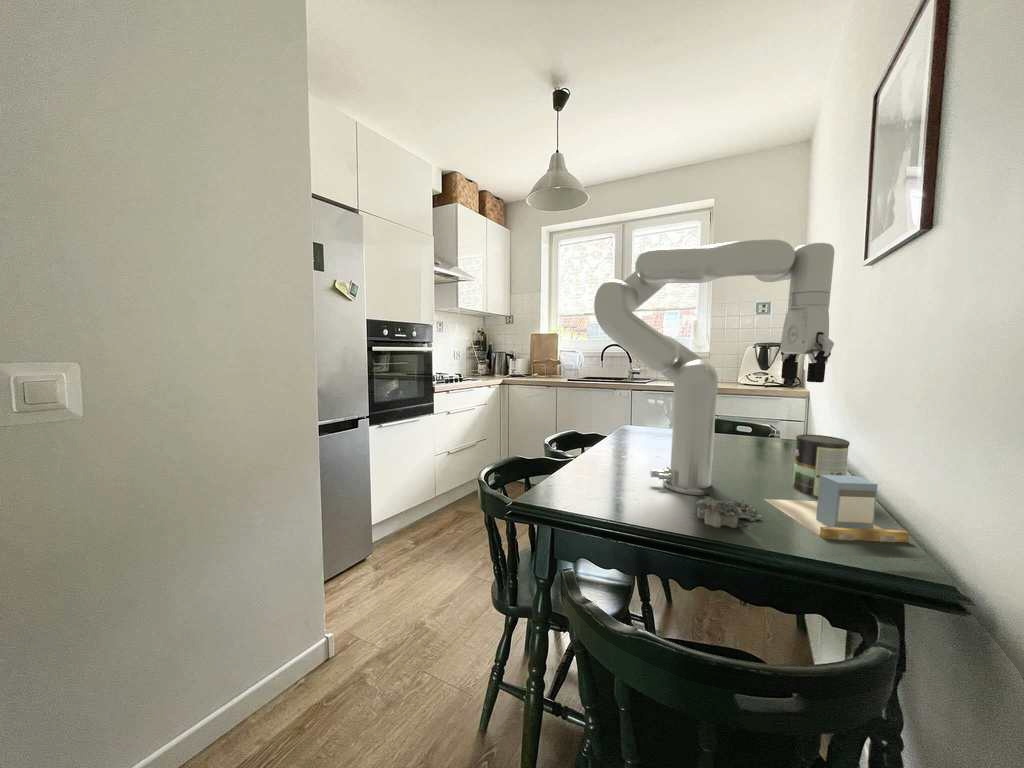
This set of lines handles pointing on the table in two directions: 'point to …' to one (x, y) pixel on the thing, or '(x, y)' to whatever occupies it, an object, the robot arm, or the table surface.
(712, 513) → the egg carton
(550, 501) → the table surface
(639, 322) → the robot arm
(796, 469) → the coffee can
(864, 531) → the shelf
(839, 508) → the carton
